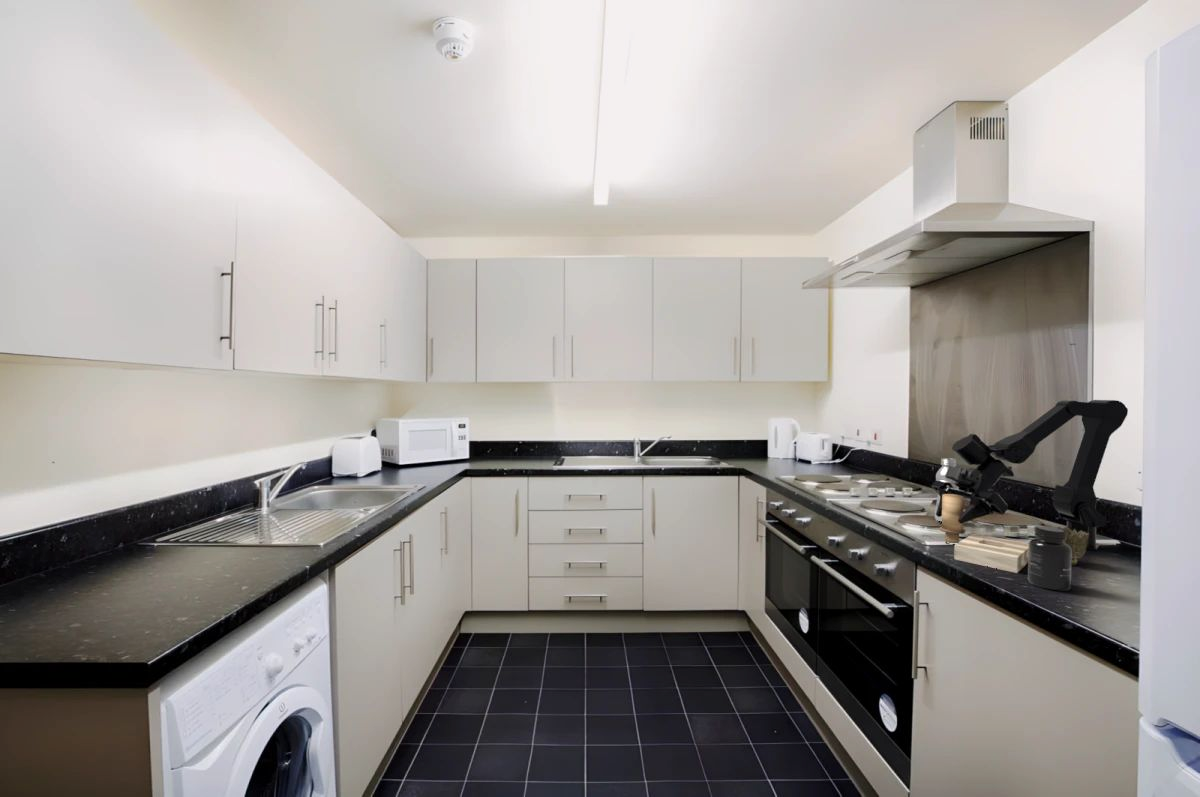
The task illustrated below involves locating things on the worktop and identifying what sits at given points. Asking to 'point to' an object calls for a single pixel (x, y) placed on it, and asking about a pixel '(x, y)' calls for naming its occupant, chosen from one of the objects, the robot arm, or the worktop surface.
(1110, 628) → the worktop surface
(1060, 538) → the supplement bottle
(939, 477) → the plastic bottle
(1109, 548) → the worktop surface
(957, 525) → the oak peg
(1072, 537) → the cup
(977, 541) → the light wooden block
